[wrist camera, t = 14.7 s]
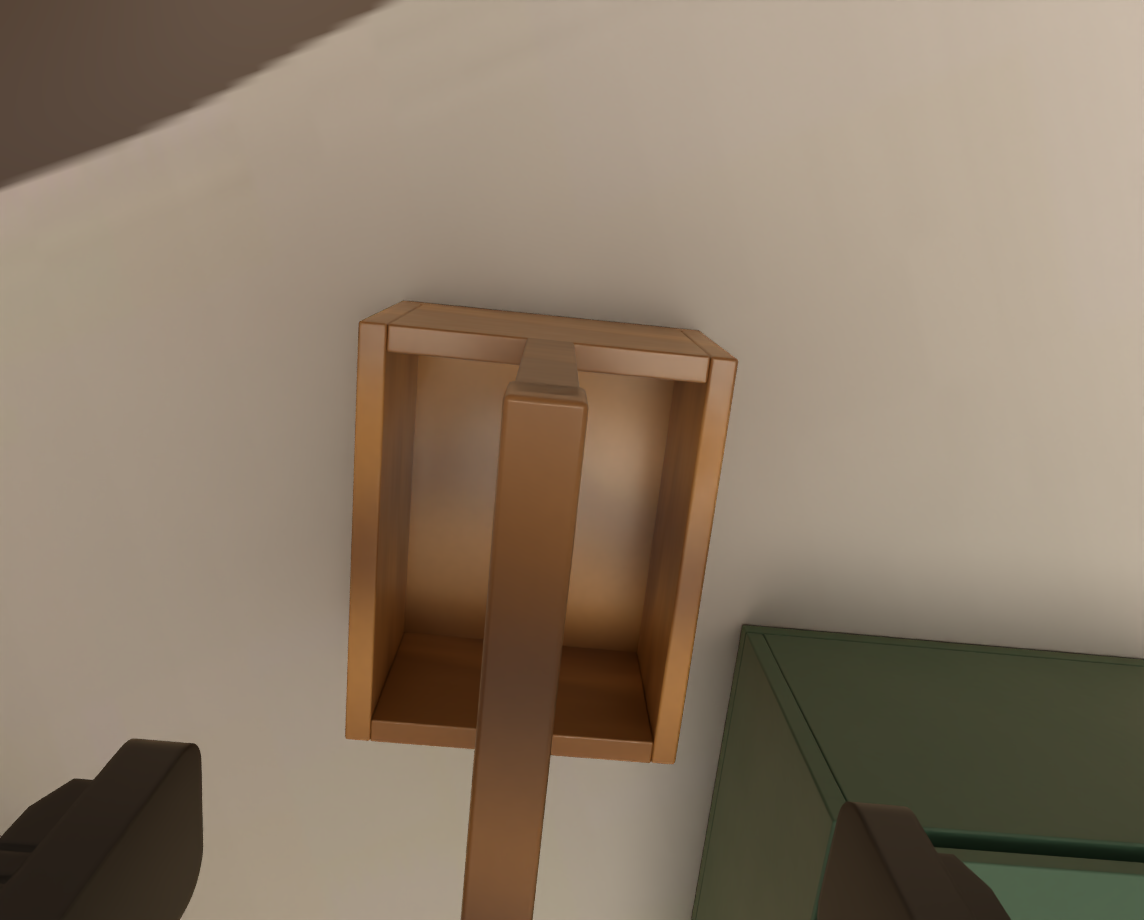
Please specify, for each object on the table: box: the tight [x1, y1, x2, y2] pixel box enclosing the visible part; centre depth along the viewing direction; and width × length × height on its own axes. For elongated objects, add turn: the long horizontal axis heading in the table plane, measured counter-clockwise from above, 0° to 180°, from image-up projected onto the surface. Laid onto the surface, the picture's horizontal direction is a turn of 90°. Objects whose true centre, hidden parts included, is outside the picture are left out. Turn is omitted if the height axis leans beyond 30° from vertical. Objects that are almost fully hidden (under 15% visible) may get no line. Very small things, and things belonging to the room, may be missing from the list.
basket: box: [345, 301, 738, 920], centre depth 18 cm, size 10×8×11 cm
